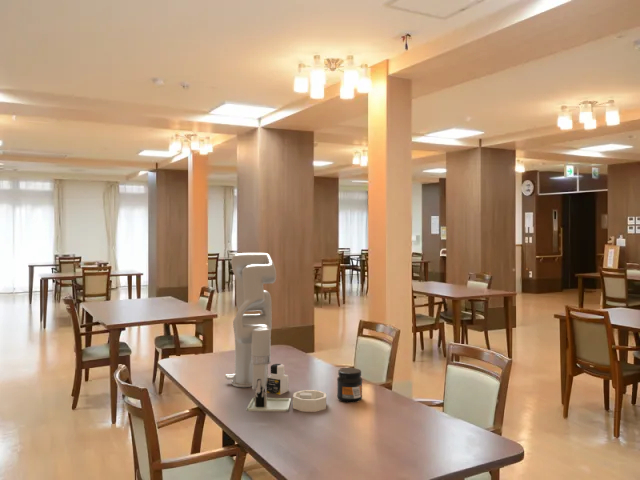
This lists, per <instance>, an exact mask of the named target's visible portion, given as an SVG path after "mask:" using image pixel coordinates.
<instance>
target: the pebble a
mask: <svg viewBox="0 0 640 480" xmlns="http://www.w3.org/2000/svg"><path fill="white" fill-rule="evenodd" d="M300 398H301V399H311V393H300Z"/></svg>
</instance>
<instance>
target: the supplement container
mask: <svg viewBox="0 0 640 480" xmlns="http://www.w3.org/2000/svg"><path fill="white" fill-rule="evenodd" d="M337 372H338V373H337V375H338V376H337V378H336V382H337V383H336V386H337V388H336V389H337V390H336V391H337V392H336V394H337V395H336V398H337V399H338V400H339V401H340V402H342V403H357V402H360V401H361V400H362V399H363V378H362V370H361V369H359V368H357V367H356V368H355V367H344V368H340V369H339V370H337Z"/></svg>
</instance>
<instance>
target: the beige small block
mask: <svg viewBox="0 0 640 480" xmlns="http://www.w3.org/2000/svg"><path fill="white" fill-rule="evenodd" d="M263 397H264V407H266V405H267V398H268V393H267V392H266V391H265V392H264V395H263ZM254 398H255V407H256V392H255V393H254Z"/></svg>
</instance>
